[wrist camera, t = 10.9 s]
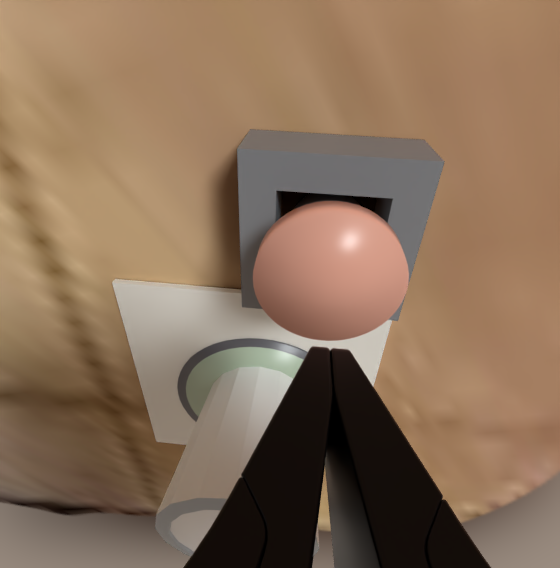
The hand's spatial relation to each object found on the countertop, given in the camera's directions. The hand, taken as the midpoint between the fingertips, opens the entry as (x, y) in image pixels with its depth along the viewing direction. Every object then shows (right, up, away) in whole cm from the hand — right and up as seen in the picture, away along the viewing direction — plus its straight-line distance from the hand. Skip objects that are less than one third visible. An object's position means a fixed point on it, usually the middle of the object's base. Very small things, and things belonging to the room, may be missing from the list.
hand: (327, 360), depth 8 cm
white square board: (-3, -4, +12) cm, 13 cm away
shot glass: (-2, -5, +13) cm, 14 cm away
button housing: (+1, +4, +6) cm, 8 cm away
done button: (+1, +4, +6) cm, 8 cm away
